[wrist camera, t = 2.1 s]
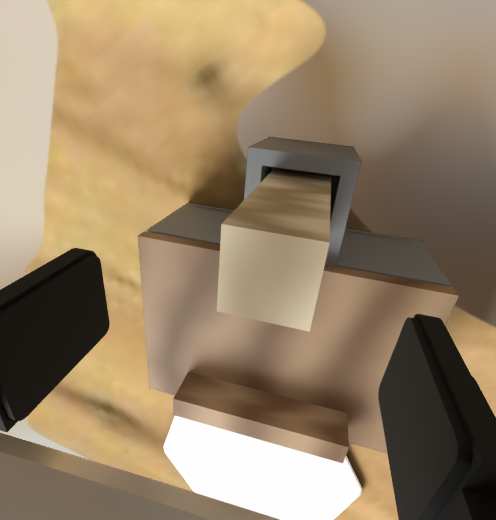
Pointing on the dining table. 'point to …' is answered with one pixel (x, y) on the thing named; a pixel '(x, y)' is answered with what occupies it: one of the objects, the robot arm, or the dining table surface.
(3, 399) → the robot arm
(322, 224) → the rectangular block
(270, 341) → the lid
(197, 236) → the toolbox
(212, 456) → the plate
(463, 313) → the dining table surface
